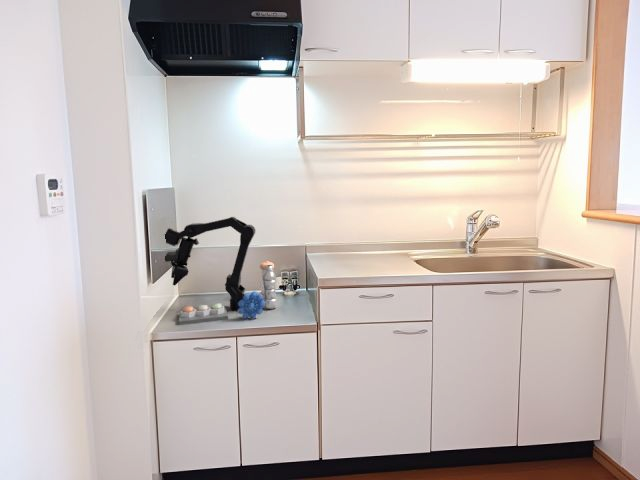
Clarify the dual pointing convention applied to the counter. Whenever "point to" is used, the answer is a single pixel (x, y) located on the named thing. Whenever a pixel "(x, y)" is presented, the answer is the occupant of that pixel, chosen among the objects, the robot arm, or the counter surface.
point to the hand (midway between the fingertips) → (173, 281)
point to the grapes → (251, 305)
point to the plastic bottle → (269, 287)
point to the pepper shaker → (263, 273)
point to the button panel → (202, 316)
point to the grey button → (202, 308)
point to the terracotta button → (188, 309)
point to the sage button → (217, 306)
